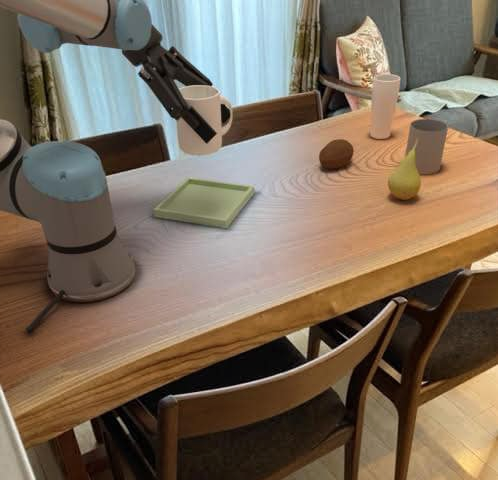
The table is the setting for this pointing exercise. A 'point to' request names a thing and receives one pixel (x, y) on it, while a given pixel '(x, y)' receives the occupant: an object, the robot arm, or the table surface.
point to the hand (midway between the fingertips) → (220, 128)
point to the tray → (205, 202)
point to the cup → (427, 144)
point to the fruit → (405, 178)
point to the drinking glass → (383, 104)
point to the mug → (209, 109)
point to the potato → (336, 154)
